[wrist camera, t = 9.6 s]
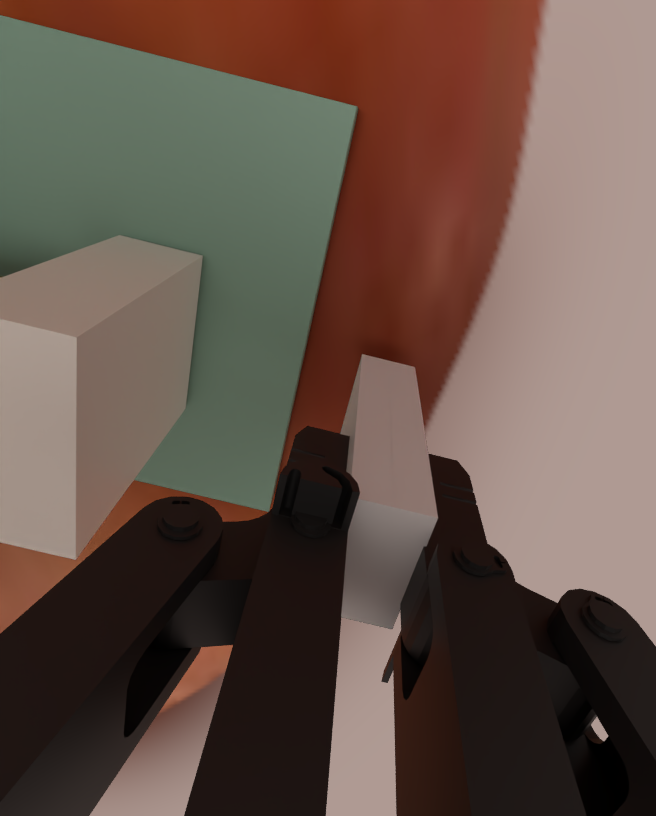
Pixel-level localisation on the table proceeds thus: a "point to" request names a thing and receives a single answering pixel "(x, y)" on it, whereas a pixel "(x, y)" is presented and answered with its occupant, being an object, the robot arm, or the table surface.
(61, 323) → the latch
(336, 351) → the table surface
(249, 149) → the board
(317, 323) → the table surface
